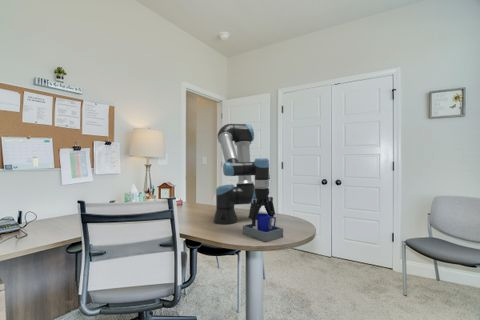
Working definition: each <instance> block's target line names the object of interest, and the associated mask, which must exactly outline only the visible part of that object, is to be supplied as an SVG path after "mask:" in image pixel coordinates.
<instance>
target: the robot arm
mask: <svg viewBox="0 0 480 320" xmlns="http://www.w3.org/2000/svg"><path fill="white" fill-rule="evenodd" d="M254 139H255V133H254V127H253V126H252V125H251V124H249V123H227V124H224V125H223V126H222V127H221V128H220V129H219V131H218V132H217V141H218V143H219V144H220V147H221V150H222V153H223V154H222V155H223V158H224V162H223V165H222V172H223V175H224V176H225V177H237V178H238V182H236V185H235V184H224V185H219V186H217V187H216V190H215V191H216V192H215V197H216V198H215V200H216V201H215V203H216V206H215V208H216V209H215V213H214V217H213V223H215V224H218V225H231V224H235V223H237V222H238V217H237V213H236V210H235V205H250V208H249V213H248V219H249V220H251V224H252V226H253V229H256V230H258V229H257V220H256V218H257V215H258V213H260V210H261V208H262V207H264V209H265V212H266V214H268V216H271V217H275V215H276V211H275V205H274V202H273V201H274V198H273V197H272V196H269V195H270V188H269V187H270V162H269V161H270V160H269V159H268V157H267V158H263V157H262V158H255V159H254V161H251V151H250V150H251V149H250V146H251V144H252V142H253V141H254ZM234 145H235V146H236V148H235V146H234ZM236 150H237V151H236ZM252 176H254V181H253V180H252ZM272 223H273V218H269V222H268V229H272V225H273V224H272Z"/></svg>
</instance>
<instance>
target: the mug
mask: <svg viewBox="0 0 480 320" xmlns="http://www.w3.org/2000/svg"><path fill="white" fill-rule="evenodd" d="M269 218H272V219H274V220H273V221H274V222H273V226H274V227H273V229H272V230H269V229H268V222H269ZM276 219H277V218H276V217H275V216H274V217H271V216H268V214H267V213H264V212H259V213H258V215H257V218H256V220H257V229H258V230H259V231H263V232H267V231H273V230H274V228H275V226H276V222H277V221H276Z"/></svg>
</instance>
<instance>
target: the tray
mask: <svg viewBox="0 0 480 320" xmlns="http://www.w3.org/2000/svg"><path fill="white" fill-rule="evenodd" d="M273 227H274V224H272V229H273ZM272 229H269V230H272ZM242 235H244V236H247V237H251V238H252V239H256V240H258V241H262V242H264V243H268V242H271V241H275V240H277V239H282V238H284V228H282V227H279V226H276V225H275V228H274V230H273V231H267V232H263V231H259V230H256V229H253V226H252V223H249V224H245V225H242Z"/></svg>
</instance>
